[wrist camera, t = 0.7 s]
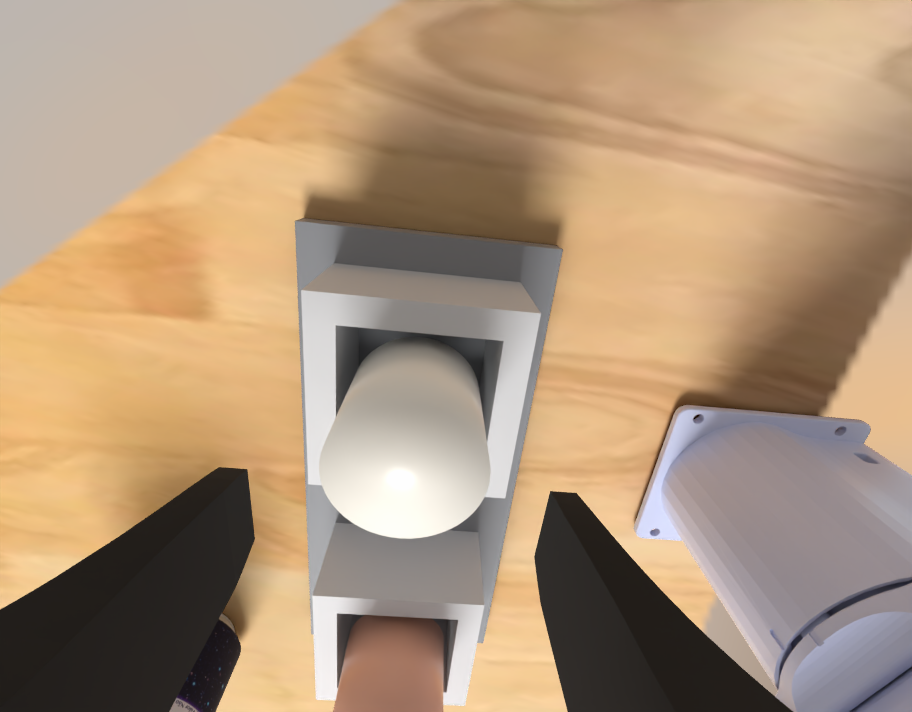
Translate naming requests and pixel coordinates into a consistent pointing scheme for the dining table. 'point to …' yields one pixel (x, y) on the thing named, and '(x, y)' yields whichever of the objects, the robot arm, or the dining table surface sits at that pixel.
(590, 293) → the dining table surface
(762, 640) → the robot arm
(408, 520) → the cream plug
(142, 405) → the dining table surface
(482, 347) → the plug panel
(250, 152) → the dining table surface
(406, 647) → the terracotta plug
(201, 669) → the beverage can
